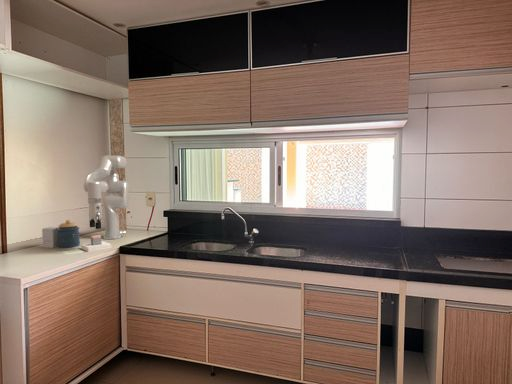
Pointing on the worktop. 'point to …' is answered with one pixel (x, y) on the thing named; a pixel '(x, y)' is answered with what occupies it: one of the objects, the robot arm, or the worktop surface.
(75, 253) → the mat
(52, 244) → the supplement box
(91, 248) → the white flat block
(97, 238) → the plug
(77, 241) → the canister
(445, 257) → the worktop surface
